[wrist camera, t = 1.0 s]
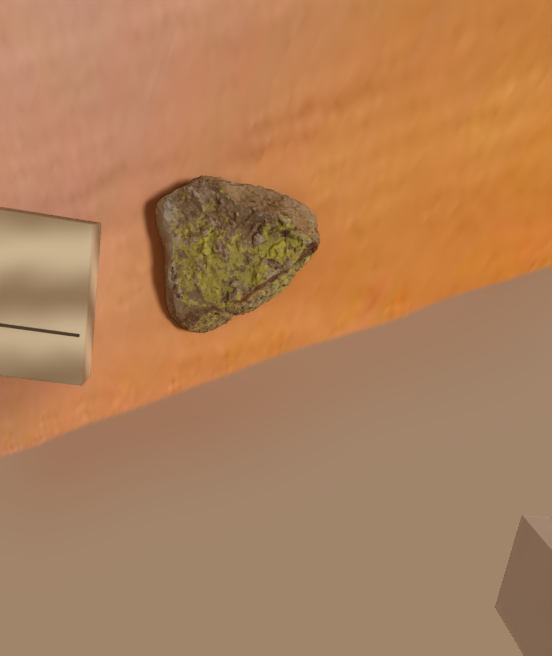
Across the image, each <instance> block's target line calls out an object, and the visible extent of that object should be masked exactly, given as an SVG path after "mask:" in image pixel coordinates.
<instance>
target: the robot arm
mask: <svg viewBox="0 0 552 656" xmlns="http://www.w3.org/2000/svg"><path fill="white" fill-rule="evenodd" d="M495 608H496V610H497V612H498V613H499V615H500V616H501V618H502V620H503V622H504V623H505V625H506V626H507V628H508V630H509V631H510V633H511V635H512V637H513V638H514V640H515V642H516V643H517V645H518V647H519V649H520V650H521V652H522V653H523V655H524V656H552V517H546V516H533V515H522V516H521V520H520V523H519V527H518V530H517V533H516V537H515V540H514V544H513V547H512V551H511V554H510V557H509V561H508V564H507V568H506V571H505V574H504V578H503V581H502V585H501V588H500V591H499V595H498V598H497V602H496V605H495Z"/></svg>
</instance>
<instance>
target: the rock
mask: <svg viewBox="0 0 552 656" xmlns="http://www.w3.org/2000/svg"><path fill="white" fill-rule="evenodd" d="M155 214H156V215H155V218H156V223H155V224H156V227H157V229H158V233H159V235H160V238H161V240H162V244H163V248H164V254H165V257H164V258H165V261H166V263H165V268H164V270H165V274H166V277H165V284H166V287H165V288H166V303H167V307H168V310H169V313H170V315H171V317H172V318H173V319H174V320H175V321H176V322H177V323H178V324H179V325H180V326H181V327H182V328H183V329H186V330H190V331H193V332H199V333H205V332H208V331H211V330H214V329H216V328H218V327H219V326H221V325H223V324H226V323H227V322H228V321H229V320H231V318H232V316H233V315H243V314H245V313H249V312H250V311H253V310H255V309H256V308H257V307H259V306H261V305H263V304H264V302H268V301H269V300H270V299H272V298H273V297H274V296H276V295H277V294H279V293H280V292H281V291H283V290H284V289H285V288H286V286H289V284H290V282H291V280H292V278H293V276H294V275H295V273H296V272H297V271H300V269H301V268H303V266H304V265H305V264H306V263H307V262H308V261H309V260H310V259H311V257H312V255H313V254H314V252H315V251H316V250H317V249H318V246H319V244H320V235H319V233H318V231H317V226H318V225H317V219H316V216H315V215H314V214H313V213H312V211H311V210H310V209H309V208H308V207H307V206H306V205H305V204H303V203H301V202H299V201H297V200H295V199H293V198H292V197H290V196H287V195H281V194H279V193H278V192H276V191H274V190H271V189H265V188H263V187H261V186H253V185H250V184H239V183H234V182H231V181H228V180H224V179H222V178H220V177H212V176H200V177H198V178H195V179H193V181H191V182H190V183H189V184H188V185H185V186H183V187H180V188H178V189H175V190H174V191H173V192H172V193H171V194H168V195H165V196H164V197H163V198H162V199H161V200H160V201H159V202H158V203H157V207H156V209H155Z"/></svg>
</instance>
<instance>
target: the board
mask: <svg viewBox="0 0 552 656" xmlns="http://www.w3.org/2000/svg"><path fill="white" fill-rule="evenodd" d="M100 234H101V223H98V222H92V221H85V220H79V219H73V218H67V217H60V216H54V215H48V214H42V213H35V212H29V211H23V210H17V209H10V208H4V207H0V376H8V377H16V378H23V379H31V380H39V381H47V382H55V383H63V384H71V385H79V386H82V385H83V384H84V383H85V382H86V381H87V379H88V378H89V377H90V372H91V358H92V344H93V330H94V316H95V303H96V289H97V275H98V261H99V247H100Z"/></svg>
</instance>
